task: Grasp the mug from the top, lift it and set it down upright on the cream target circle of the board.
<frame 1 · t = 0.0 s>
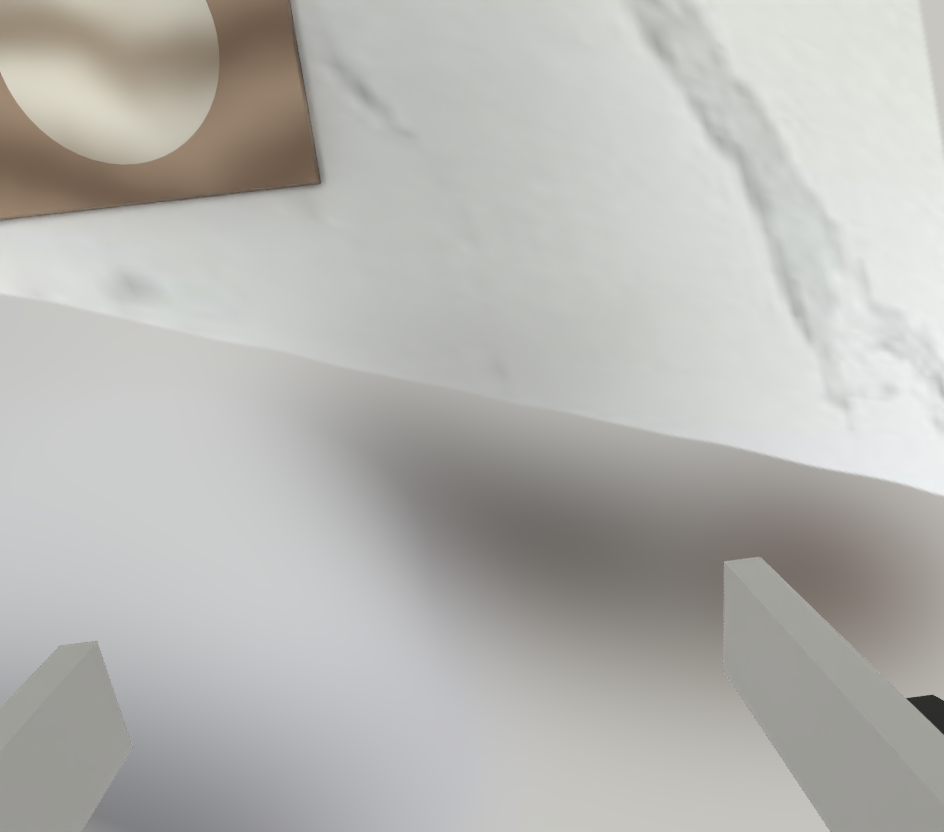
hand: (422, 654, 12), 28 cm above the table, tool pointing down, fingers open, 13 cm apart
target board: (118, 52, 33), on the table
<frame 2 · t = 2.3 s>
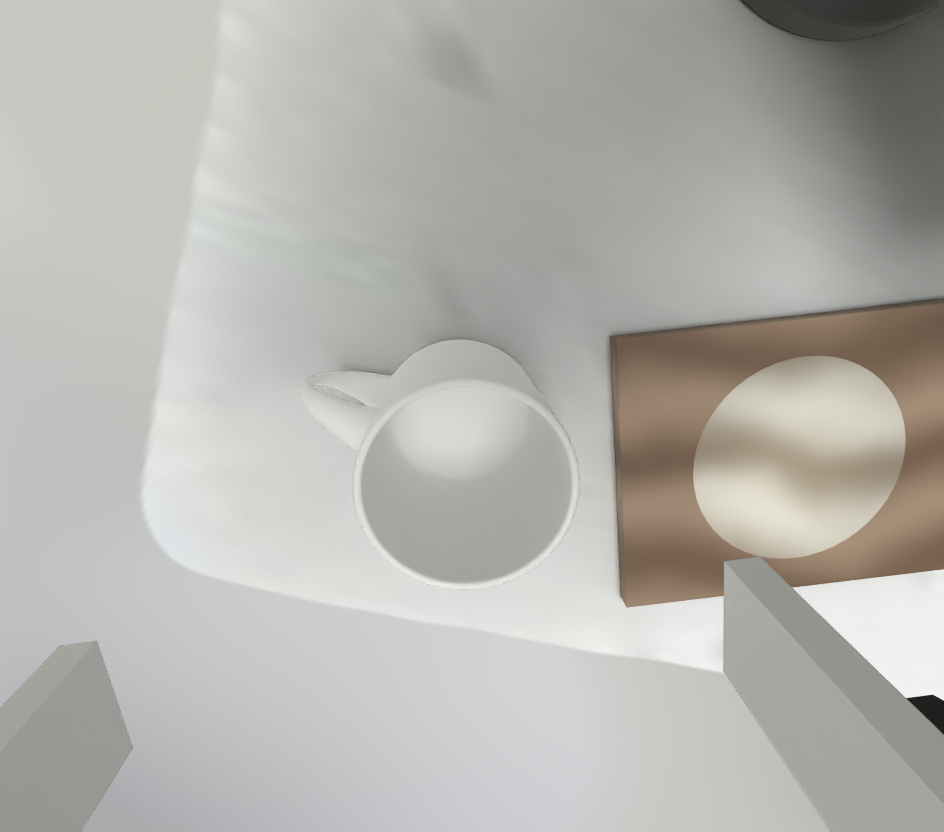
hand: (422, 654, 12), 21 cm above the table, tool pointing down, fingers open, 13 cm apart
target board: (787, 454, 34), on the table
mug: (431, 401, 33), on the table
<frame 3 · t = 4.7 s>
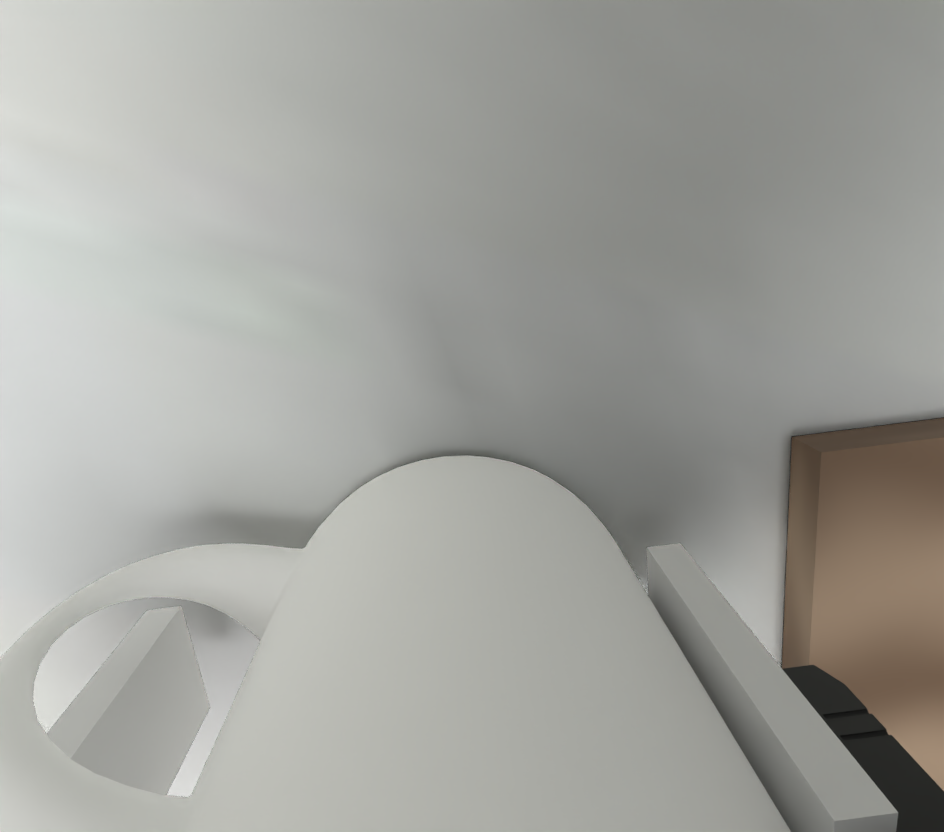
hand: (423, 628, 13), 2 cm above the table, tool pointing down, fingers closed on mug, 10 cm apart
mug: (401, 571, 16), on the table, touching gripper
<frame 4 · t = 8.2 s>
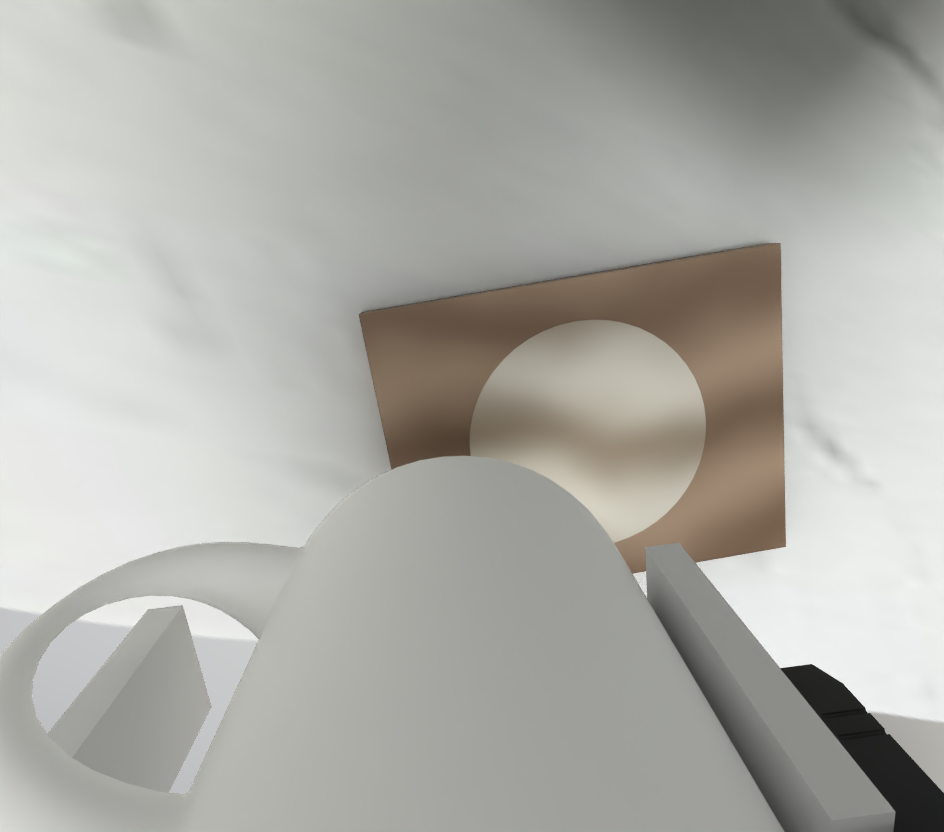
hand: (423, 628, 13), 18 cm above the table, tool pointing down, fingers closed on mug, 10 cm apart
target board: (582, 432, 31), on the table
mug: (399, 571, 16), point 15 cm above the table, touching gripper
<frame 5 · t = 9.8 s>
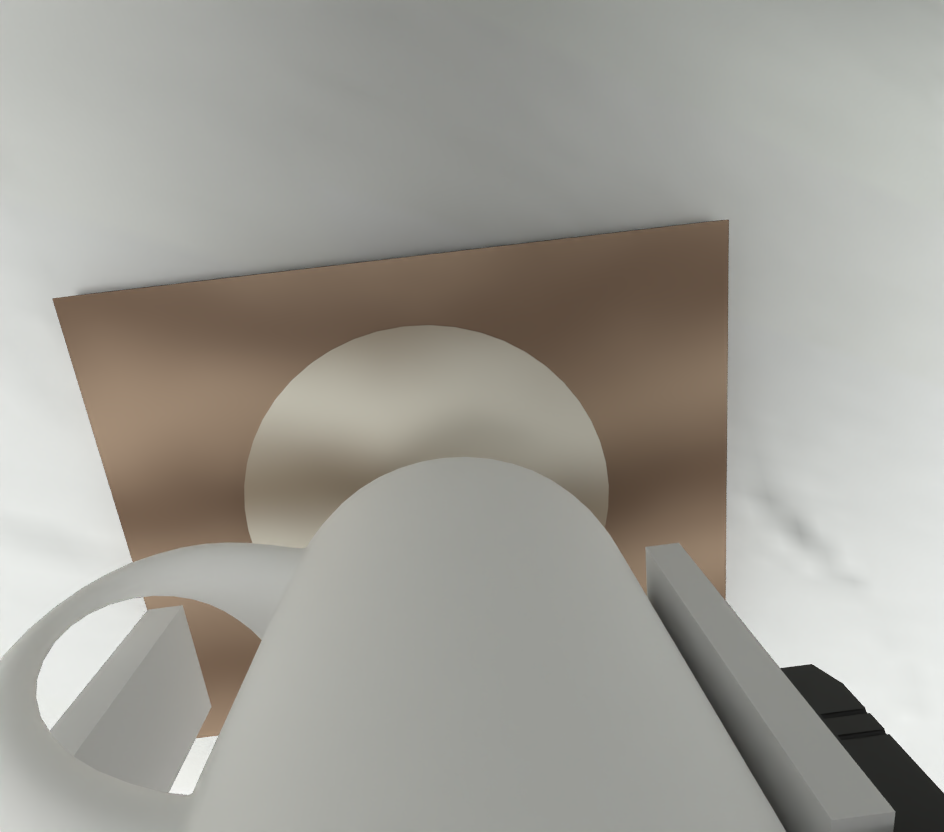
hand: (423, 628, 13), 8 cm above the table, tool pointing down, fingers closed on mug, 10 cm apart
target board: (430, 492, 21), on the table
mug: (401, 572, 16), point 5 cm above the table, touching gripper
when the fingers open (5 cm above the table, at t = 11.3 s): mug drops 1 cm, resting on target board.
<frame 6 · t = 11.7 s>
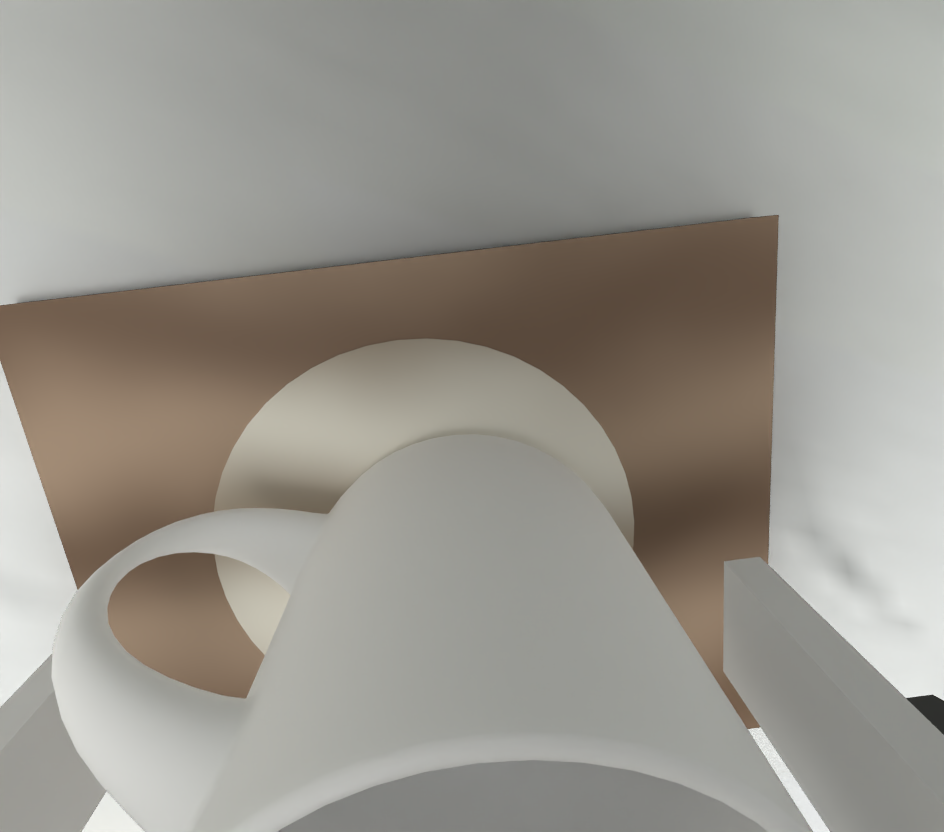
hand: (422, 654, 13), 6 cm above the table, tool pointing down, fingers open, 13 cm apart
target board: (428, 527, 18), on the table
mug: (413, 542, 17), point 1 cm above the table, touching target board
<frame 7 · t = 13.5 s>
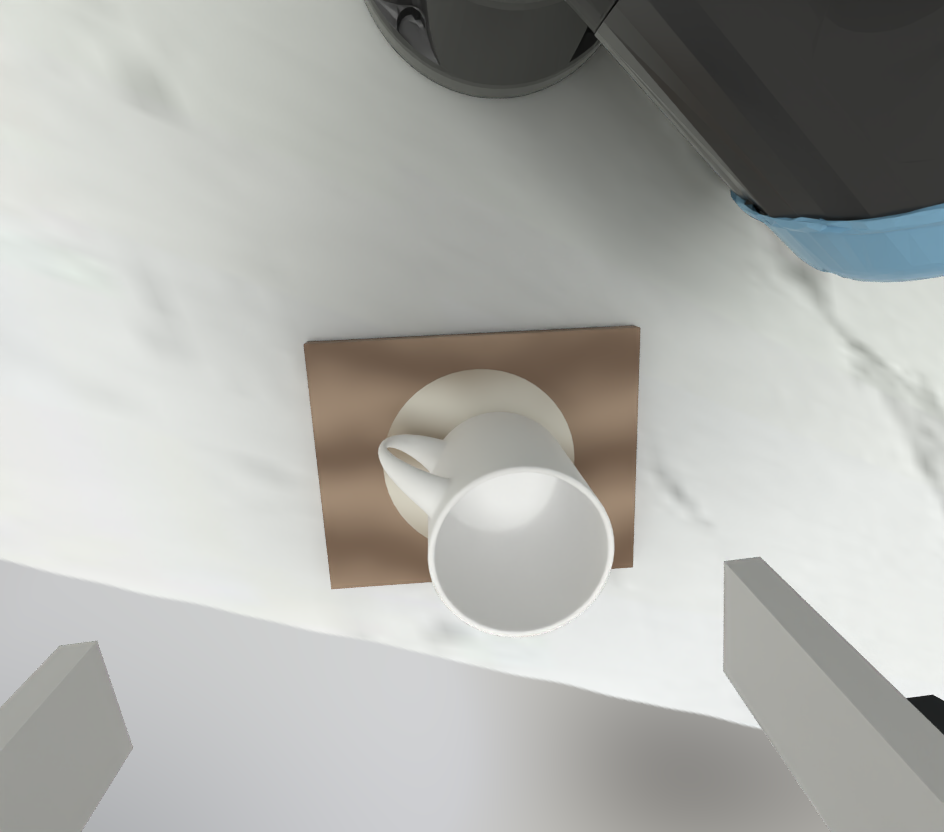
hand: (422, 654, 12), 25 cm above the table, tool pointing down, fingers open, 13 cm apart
target board: (478, 457, 38), on the table
mug: (473, 461, 37), point 1 cm above the table, touching target board
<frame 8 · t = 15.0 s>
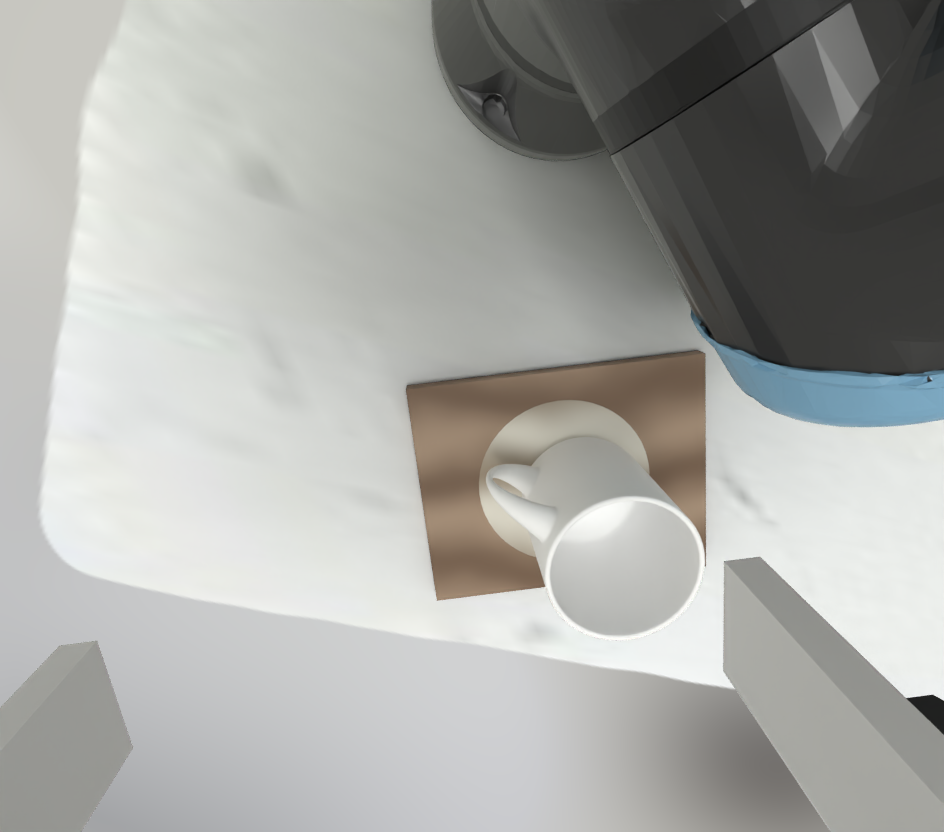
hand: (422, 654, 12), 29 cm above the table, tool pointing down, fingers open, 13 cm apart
target board: (561, 476, 43), on the table
mug: (558, 481, 42), point 1 cm above the table, touching target board
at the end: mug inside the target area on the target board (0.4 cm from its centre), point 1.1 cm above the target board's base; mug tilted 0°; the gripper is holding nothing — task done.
